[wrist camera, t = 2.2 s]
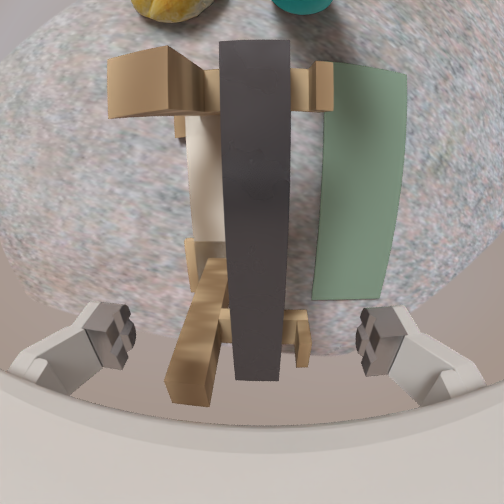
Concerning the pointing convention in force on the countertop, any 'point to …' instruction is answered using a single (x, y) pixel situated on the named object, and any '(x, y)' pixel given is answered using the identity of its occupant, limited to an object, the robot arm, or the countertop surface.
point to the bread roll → (170, 9)
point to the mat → (360, 181)
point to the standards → (205, 198)
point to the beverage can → (302, 6)
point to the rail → (256, 197)
